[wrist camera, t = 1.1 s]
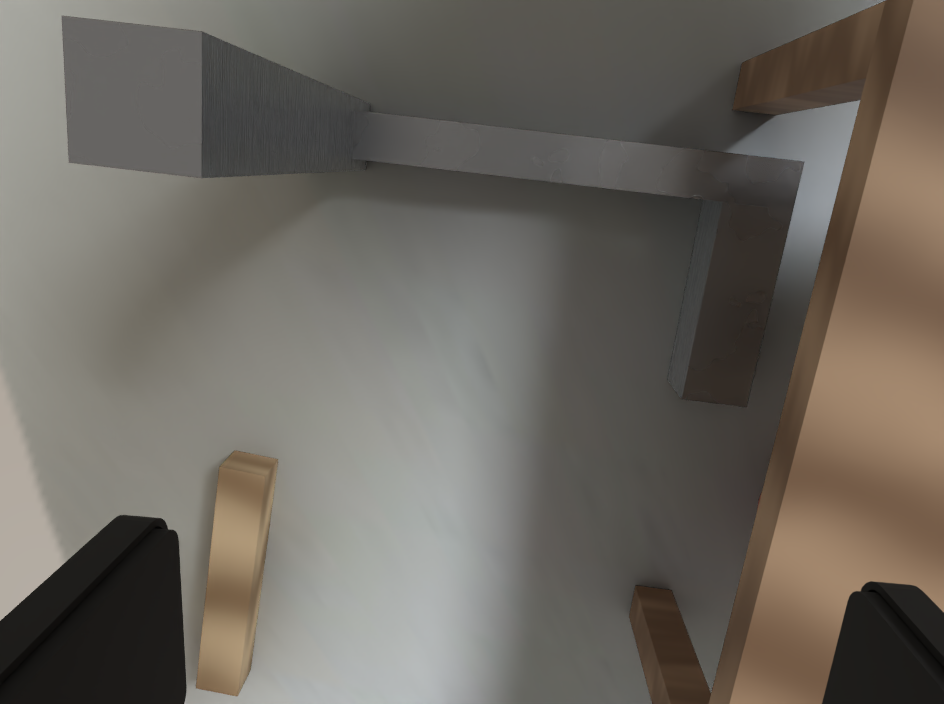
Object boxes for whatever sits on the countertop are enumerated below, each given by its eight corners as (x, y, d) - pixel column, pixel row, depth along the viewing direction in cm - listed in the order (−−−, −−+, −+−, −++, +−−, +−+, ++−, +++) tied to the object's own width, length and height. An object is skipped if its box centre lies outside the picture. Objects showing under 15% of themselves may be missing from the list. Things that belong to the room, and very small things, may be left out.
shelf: (742, 62, 30) (916, -13, 17) (1082, 100, 30) (1520, 53, 17) (629, 616, 38) (691, 849, 25) (897, 650, 38) (1100, 905, 25)
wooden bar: (237, 448, 37) (219, 466, 35) (280, 456, 37) (265, 476, 35) (213, 658, 41) (195, 688, 39) (252, 666, 41) (237, 696, 39)
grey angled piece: (306, 96, 32) (61, 15, 14) (779, 150, 31) (1117, 134, 14) (296, 334, 35) (85, 503, 17) (726, 386, 34) (947, 614, 17)
